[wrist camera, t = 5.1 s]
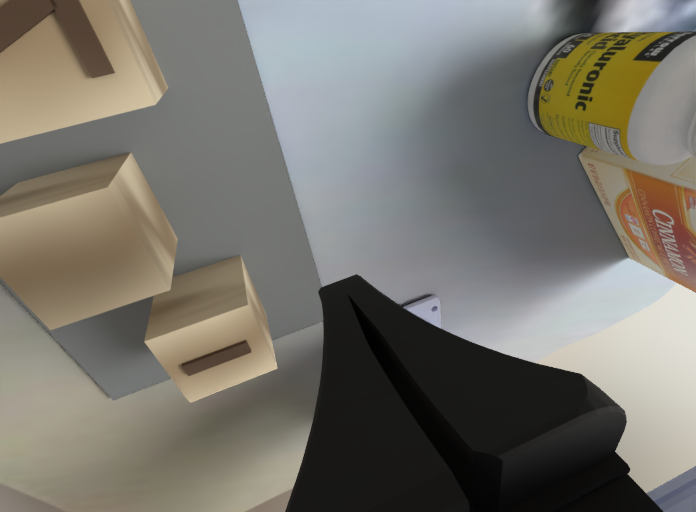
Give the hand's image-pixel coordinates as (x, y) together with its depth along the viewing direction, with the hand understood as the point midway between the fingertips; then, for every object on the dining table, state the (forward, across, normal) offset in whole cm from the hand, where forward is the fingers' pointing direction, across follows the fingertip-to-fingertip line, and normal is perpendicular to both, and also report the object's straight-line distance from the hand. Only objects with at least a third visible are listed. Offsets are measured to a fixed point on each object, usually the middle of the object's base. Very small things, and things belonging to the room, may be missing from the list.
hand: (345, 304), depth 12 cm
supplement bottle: (+10, -17, -1) cm, 20 cm away
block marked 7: (+9, +6, -9) cm, 14 cm away
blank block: (+9, +8, -2) cm, 12 cm away
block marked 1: (+9, +6, +4) cm, 12 cm away
